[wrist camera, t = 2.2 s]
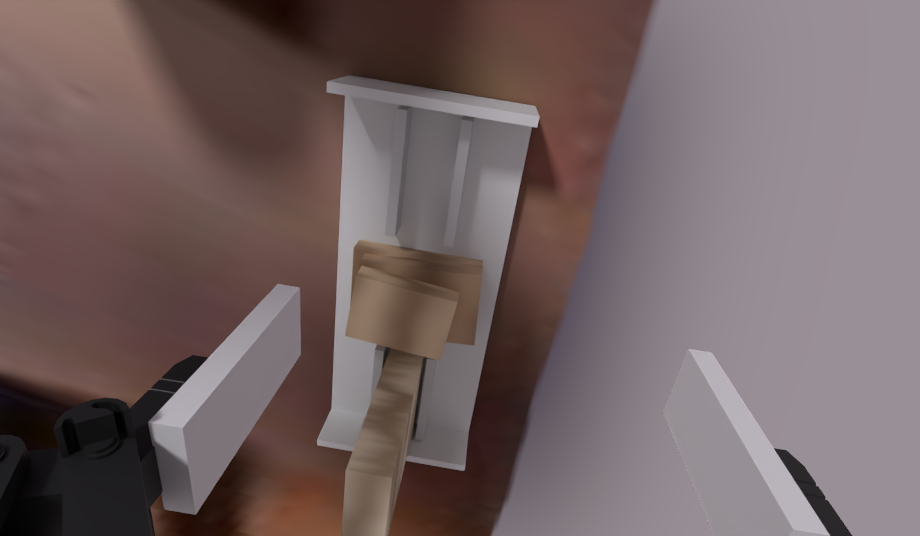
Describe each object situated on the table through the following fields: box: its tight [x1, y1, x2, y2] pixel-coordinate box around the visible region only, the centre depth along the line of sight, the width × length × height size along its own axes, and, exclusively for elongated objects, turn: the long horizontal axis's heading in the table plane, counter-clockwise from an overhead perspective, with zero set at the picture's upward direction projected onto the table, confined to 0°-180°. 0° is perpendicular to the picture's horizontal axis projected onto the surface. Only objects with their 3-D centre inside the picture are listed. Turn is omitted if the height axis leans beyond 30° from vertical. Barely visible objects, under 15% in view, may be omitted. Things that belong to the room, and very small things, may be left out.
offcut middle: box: [359, 254, 483, 345], centre depth 46 cm, size 11×7×2 cm
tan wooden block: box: [342, 348, 424, 536], centre depth 46 cm, size 4×10×17 cm, turn 171°
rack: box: [317, 75, 539, 471], centre depth 47 cm, size 16×37×6 cm, turn 171°
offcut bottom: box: [350, 240, 483, 305], centre depth 48 cm, size 12×8×2 cm, turn 81°
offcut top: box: [345, 266, 459, 361], centre depth 45 cm, size 9×6×2 cm
